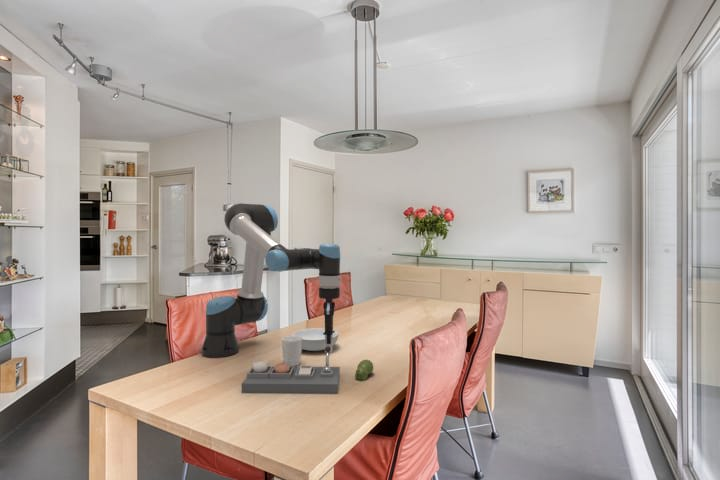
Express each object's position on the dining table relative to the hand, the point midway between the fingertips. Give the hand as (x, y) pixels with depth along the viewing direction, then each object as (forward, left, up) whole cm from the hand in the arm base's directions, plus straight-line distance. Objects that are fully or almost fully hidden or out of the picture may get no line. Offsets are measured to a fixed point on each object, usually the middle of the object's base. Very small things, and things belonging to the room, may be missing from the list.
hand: (328, 351), depth 139 cm
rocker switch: (+7, -8, -5) cm, 11 cm away
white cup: (-13, -16, -9) cm, 22 cm away
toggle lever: (+7, 0, -4) cm, 8 cm away
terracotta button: (+7, -16, -6) cm, 18 cm away
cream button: (+7, -23, -5) cm, 24 cm away
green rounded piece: (-1, +13, -9) cm, 16 cm away
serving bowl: (-33, -9, -9) cm, 36 cm away
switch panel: (+7, -12, -9) cm, 16 cm away
